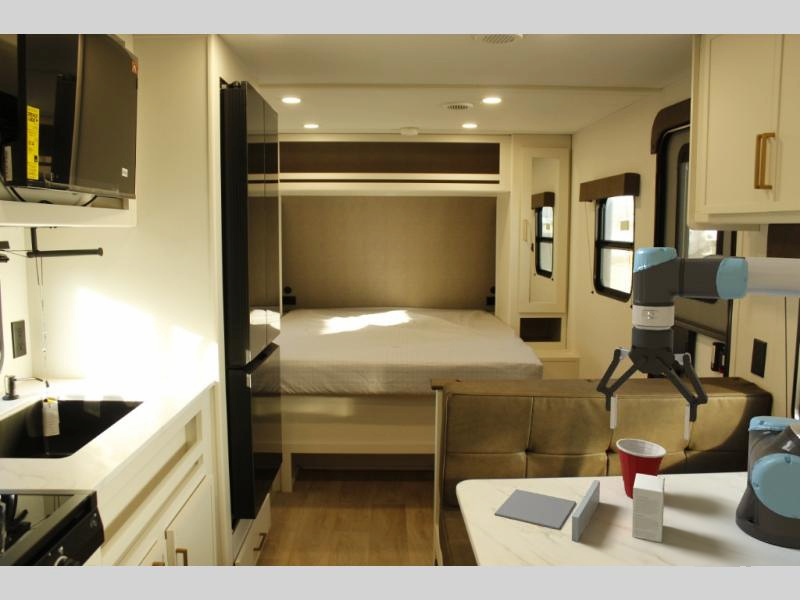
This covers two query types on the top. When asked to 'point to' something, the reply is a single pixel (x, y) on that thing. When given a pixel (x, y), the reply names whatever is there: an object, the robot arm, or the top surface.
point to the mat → (536, 509)
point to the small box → (648, 507)
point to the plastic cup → (638, 460)
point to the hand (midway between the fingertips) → (649, 432)
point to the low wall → (585, 510)
